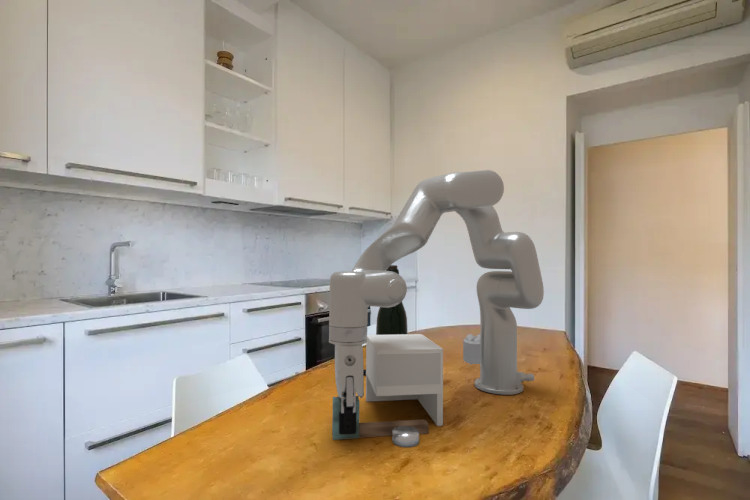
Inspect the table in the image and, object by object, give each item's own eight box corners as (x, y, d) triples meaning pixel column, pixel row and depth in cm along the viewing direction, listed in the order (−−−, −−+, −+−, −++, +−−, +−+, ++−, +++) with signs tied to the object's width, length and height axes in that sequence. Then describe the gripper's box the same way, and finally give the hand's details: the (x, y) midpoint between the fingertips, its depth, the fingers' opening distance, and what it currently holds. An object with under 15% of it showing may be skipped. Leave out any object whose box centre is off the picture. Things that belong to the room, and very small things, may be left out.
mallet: (424, 427, 79) (424, 393, 80) (428, 434, 76) (429, 398, 77) (332, 432, 76) (332, 396, 77) (332, 439, 74) (333, 402, 74)
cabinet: (421, 397, 97) (421, 334, 98) (443, 425, 80) (443, 348, 81) (365, 399, 95) (366, 335, 96) (376, 429, 78) (376, 350, 79)
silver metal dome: (410, 434, 77) (410, 424, 77) (424, 445, 72) (424, 434, 72) (387, 439, 75) (387, 428, 75) (400, 450, 70) (400, 439, 70)
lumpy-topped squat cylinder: (501, 360, 136) (501, 335, 136) (482, 367, 127) (482, 340, 127) (475, 355, 144) (475, 331, 144) (455, 361, 134) (455, 336, 135)
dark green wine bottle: (413, 366, 127) (414, 265, 128) (397, 373, 118) (398, 265, 120) (385, 361, 133) (386, 265, 134) (369, 368, 124) (370, 264, 125)
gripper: (373, 342, 69) (371, 448, 68) (362, 327, 85) (361, 412, 84) (330, 343, 68) (328, 450, 67) (327, 327, 84) (326, 414, 83)
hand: (346, 428), depth 76 cm, fingers closed on mallet, 2 cm apart
